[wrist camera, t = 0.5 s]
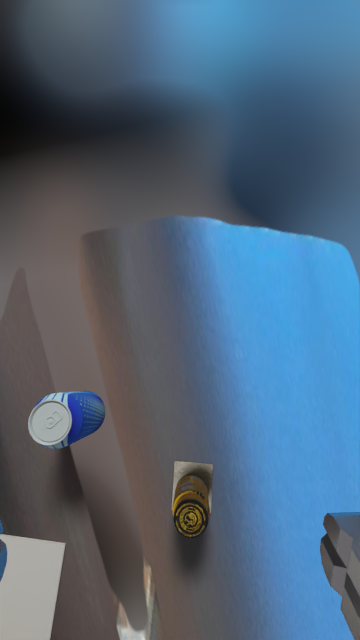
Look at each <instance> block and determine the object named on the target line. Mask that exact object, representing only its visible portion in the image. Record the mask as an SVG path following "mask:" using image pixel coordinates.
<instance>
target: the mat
mask: <svg viewBox="0 0 360 640" xmlns="http://www.w3.org/2000/svg"><path fill="white" fill-rule="evenodd" d="M0 539H1V540H2V541H3V542H4V543H5V544H6V547H7V564H6V567H5V570H4V574H3V577H2V579H1V581H0V640H50V638H51V632H52V626H53V620H54V613H55V607H56V601H57V595H58V589H59V582H60V576H61V570H62V564H63V558H64V551H65V545H66V543H60V542H53V541H46V540H39V539H32V538H25V537H18V536H11V535H3V534H0Z"/></svg>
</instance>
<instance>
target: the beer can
mask: <svg viewBox="0 0 360 640" xmlns="http://www.w3.org/2000/svg"><path fill="white" fill-rule="evenodd" d="M104 417H105V406H104V404H103V401H102V400H101V398H100V397H99V396H98V395H97V394H95V393H93V392H90V391H79V392H62V393H53V394H50V395H47V396H46V397H44V398H42V399H41V400H40V401H39V402H38V403H37V404H36V406H35V407H34V409H33V410H32V412H31V414H30V417H29V421H28V429H29V432H30V435H31V437H32V438H33V439H34V440H35V441H36V442H37V443H39V444H40V445H42V446H44V447H46V448H50V449H59V448H63V447H66V446H68V445H70V444H72V443H73V442H76V441H78V440H80V439H82V438H84V437H86V436H88V435H90V434H92V433H93V432H95V431H96V430H97V429H99V427H100V426H101V424H102V423H103V420H104Z"/></svg>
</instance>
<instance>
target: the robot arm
mask: <svg viewBox="0 0 360 640" xmlns="http://www.w3.org/2000/svg"><path fill="white" fill-rule="evenodd" d="M323 526H324V528H325V530H326V531H327V533H326V534H325V535H324V536H323V537H322V538H321V545H320V553H321V560H322V565H323V568H324V571H325V574H326V576H327V579H328V581H329V583H330V586H331V587H332V588H333V589H334V590H335V591H336V592H338V593H339V594H340V595H341V596H342V602H341V611H342V613H343V615H344V617H345V619H346V622H347V624H348V626H349V628H350V631H351V633H352V635H353V637H354V639H355V640H360V512H343V513H327V514H326V515H325V517H324V523H323ZM2 531H3V528H2V524H1V520H0V534H1V533H2ZM6 564H7V547H6V544H5V543H4V542H3V541H2V540H1V539H0V581H1V579H2V577H3V574H4V570H5V567H6Z"/></svg>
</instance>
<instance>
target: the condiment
mask: <svg viewBox="0 0 360 640" xmlns="http://www.w3.org/2000/svg"><path fill="white" fill-rule="evenodd" d="M212 471H213V464H203V463H192V462H178V461H175V465H174V481H173V497H172V512H173V517H174V523H175V526H176V528H177V530H178V532H179V533H181V534H182V535H183V536H185V537H190V538H195V537H197V536H199V535H201V534H202V533H203V532H204V531H205V529H206V527H207V524H208V519H209V515H210V513H211V496H212ZM185 472H186V474H185ZM184 474H185V475H184ZM183 475H184V476H183Z"/></svg>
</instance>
